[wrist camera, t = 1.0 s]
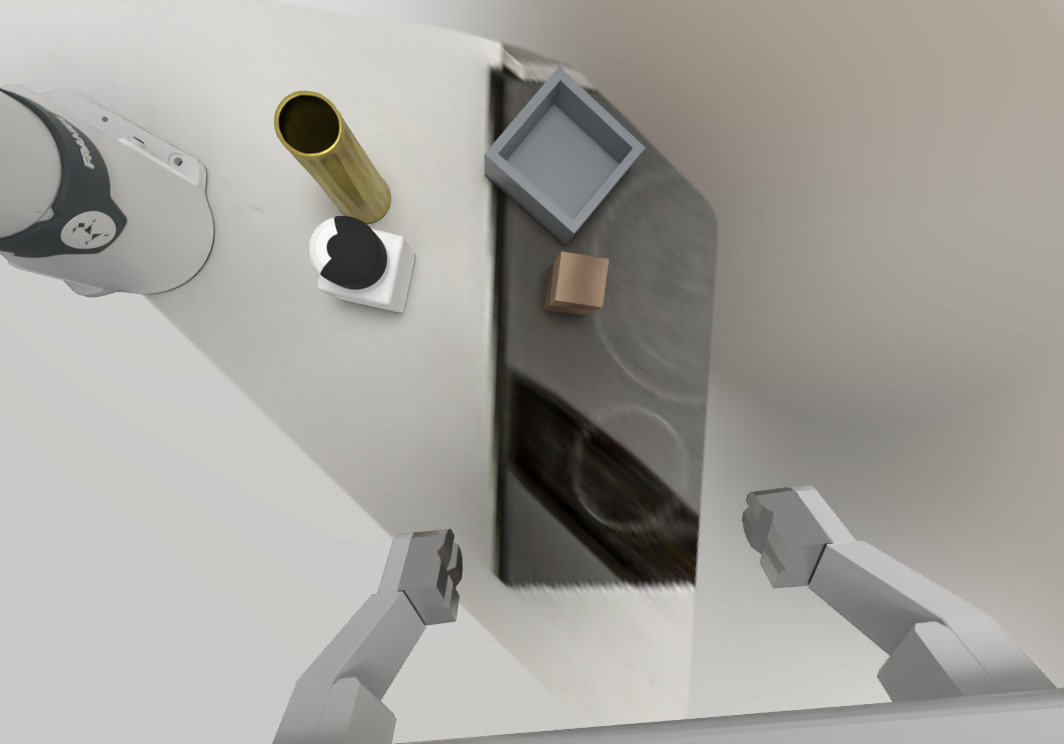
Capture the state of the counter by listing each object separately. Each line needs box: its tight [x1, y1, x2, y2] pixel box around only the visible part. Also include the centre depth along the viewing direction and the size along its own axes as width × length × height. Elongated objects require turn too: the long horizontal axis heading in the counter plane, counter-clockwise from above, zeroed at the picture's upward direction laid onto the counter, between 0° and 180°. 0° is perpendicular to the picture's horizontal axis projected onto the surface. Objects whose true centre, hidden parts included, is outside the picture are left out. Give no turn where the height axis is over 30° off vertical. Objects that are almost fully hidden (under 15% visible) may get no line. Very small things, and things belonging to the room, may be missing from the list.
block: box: [544, 252, 609, 316], centre depth 45 cm, size 5×5×8 cm
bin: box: [485, 67, 645, 246], centre depth 45 cm, size 13×13×5 cm
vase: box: [274, 91, 391, 223], centre depth 38 cm, size 6×6×14 cm
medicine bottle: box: [309, 216, 415, 313], centre depth 40 cm, size 7×7×12 cm
